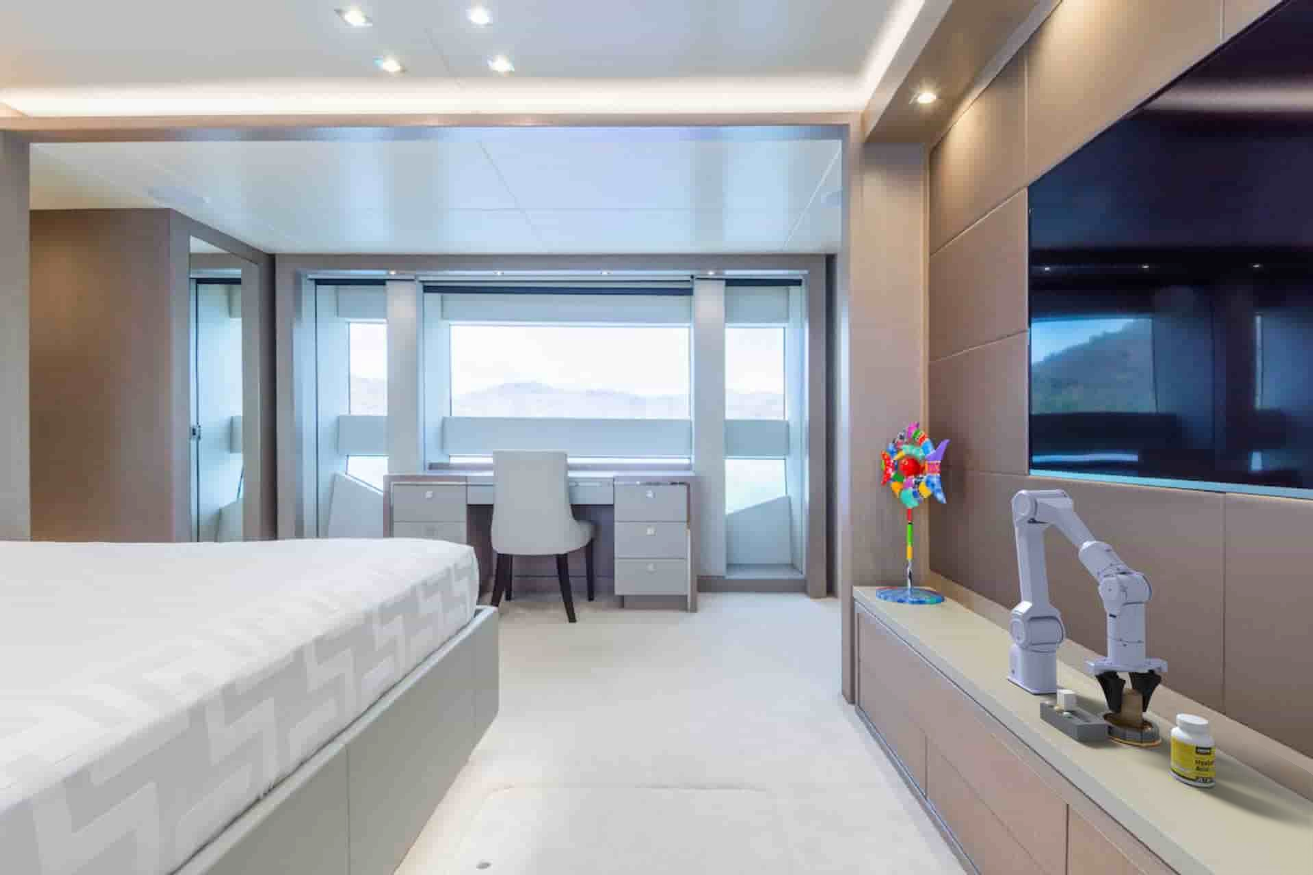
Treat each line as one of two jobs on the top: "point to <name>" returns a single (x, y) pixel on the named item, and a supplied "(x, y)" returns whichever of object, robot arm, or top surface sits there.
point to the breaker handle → (1066, 699)
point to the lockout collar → (1131, 730)
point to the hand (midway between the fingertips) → (1127, 710)
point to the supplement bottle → (1193, 751)
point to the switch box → (1074, 722)
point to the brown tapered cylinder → (1130, 707)
